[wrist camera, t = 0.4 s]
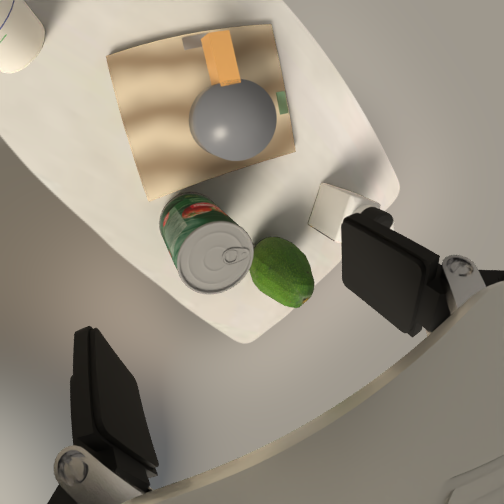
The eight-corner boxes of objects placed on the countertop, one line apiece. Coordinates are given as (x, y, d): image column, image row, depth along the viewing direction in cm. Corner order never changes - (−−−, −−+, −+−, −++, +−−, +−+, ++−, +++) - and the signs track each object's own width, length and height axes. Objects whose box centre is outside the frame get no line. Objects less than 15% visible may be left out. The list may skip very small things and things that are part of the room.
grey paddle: (267, 145, 31) (282, 148, 28) (199, 166, 29) (208, 171, 26) (244, 34, 24) (258, 27, 22) (169, 47, 22) (175, 39, 19)
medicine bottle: (306, 224, 46) (358, 258, 36) (320, 181, 43) (378, 206, 34) (337, 230, 49) (388, 260, 40) (351, 191, 47) (406, 215, 37)
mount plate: (106, 58, 24) (104, 47, 20) (265, 26, 29) (288, 16, 25) (147, 198, 34) (152, 212, 29) (289, 150, 39) (313, 156, 34)
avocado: (232, 274, 44) (270, 323, 34) (247, 225, 41) (293, 264, 32) (276, 277, 48) (320, 320, 38) (292, 232, 45) (342, 268, 36)
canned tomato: (162, 254, 38) (181, 302, 29) (156, 196, 34) (173, 229, 25) (219, 244, 41) (253, 285, 32) (217, 188, 37) (255, 216, 28)
